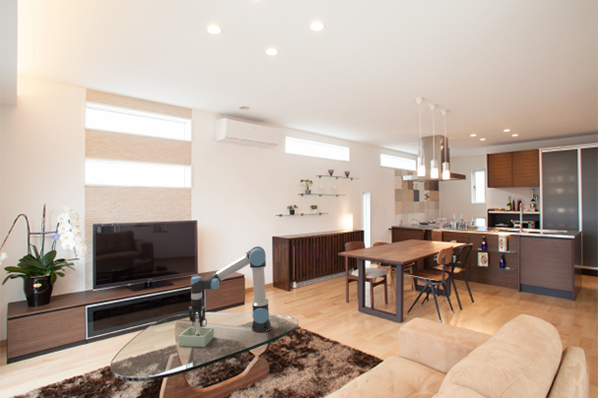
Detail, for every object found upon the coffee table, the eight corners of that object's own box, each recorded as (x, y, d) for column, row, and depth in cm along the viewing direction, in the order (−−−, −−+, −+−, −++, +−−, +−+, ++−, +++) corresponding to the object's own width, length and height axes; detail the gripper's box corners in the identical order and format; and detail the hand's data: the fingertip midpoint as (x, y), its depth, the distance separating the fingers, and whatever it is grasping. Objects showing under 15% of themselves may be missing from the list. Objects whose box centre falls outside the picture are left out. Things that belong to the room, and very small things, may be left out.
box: (213, 337, 245) (213, 327, 245) (204, 346, 229) (204, 336, 229) (189, 336, 248) (189, 326, 248) (178, 345, 232) (178, 335, 232)
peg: (198, 337, 239) (198, 321, 239) (194, 337, 239) (194, 320, 239) (200, 335, 242) (200, 319, 242) (196, 335, 242) (196, 319, 242)
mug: (193, 335, 250) (193, 320, 250) (190, 331, 257) (189, 317, 257) (209, 330, 258) (208, 316, 258) (205, 327, 264) (204, 313, 264)
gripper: (209, 296, 243) (210, 329, 243) (188, 296, 245) (189, 328, 245) (205, 300, 235) (205, 333, 235) (183, 299, 238) (184, 332, 238)
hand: (197, 330), depth 240 cm, fingers closed on peg, 3 cm apart
